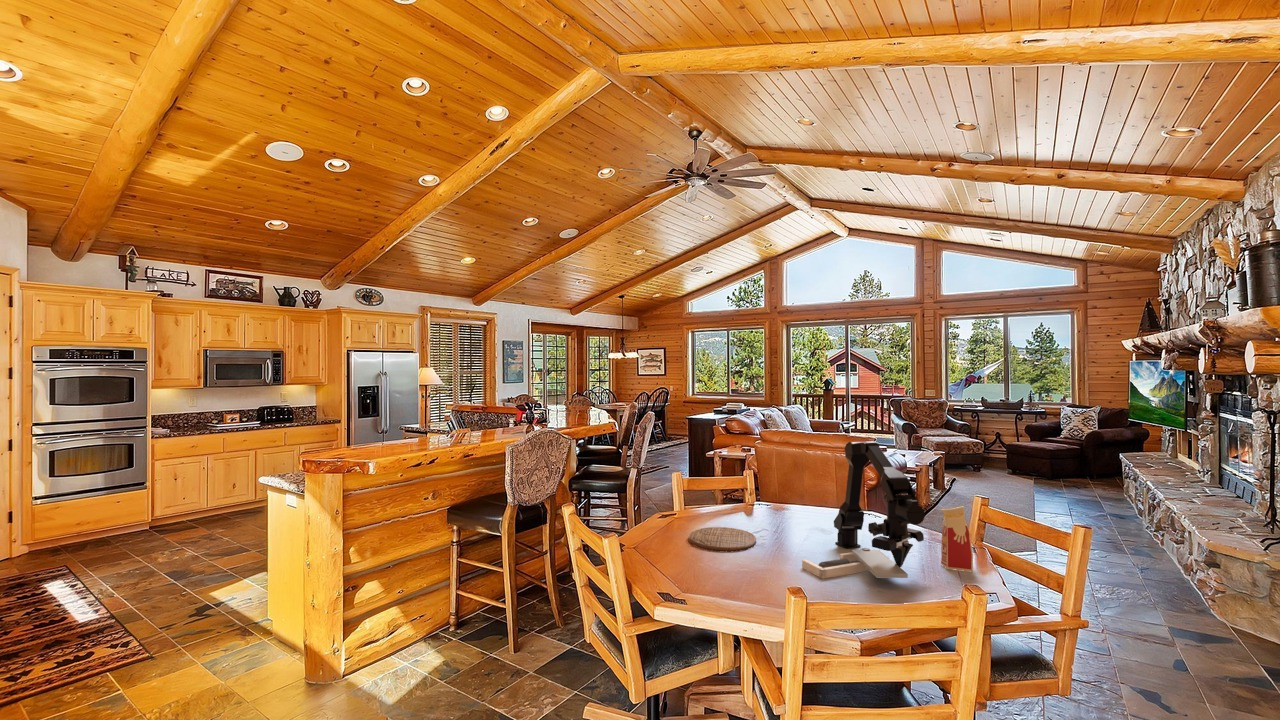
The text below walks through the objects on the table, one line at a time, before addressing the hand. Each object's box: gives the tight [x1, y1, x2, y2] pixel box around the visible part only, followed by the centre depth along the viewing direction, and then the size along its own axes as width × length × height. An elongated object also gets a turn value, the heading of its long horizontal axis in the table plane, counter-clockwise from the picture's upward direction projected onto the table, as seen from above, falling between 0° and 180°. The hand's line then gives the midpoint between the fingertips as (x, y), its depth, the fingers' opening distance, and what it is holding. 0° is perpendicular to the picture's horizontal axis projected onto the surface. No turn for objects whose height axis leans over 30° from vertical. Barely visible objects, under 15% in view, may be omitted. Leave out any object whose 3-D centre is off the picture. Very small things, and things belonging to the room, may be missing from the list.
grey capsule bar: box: [817, 558, 851, 568], centre depth 186 cm, size 12×3×3 cm
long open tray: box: [801, 551, 870, 580], centre depth 187 cm, size 23×10×3 cm, turn 112°
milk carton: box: [940, 505, 974, 573], centre depth 189 cm, size 9×9×20 cm
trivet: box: [688, 526, 757, 553], centre depth 216 cm, size 25×25×2 cm
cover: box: [851, 547, 909, 579], centre depth 181 cm, size 23×9×1 cm, turn 178°
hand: (899, 567), depth 178 cm, fingers closed
